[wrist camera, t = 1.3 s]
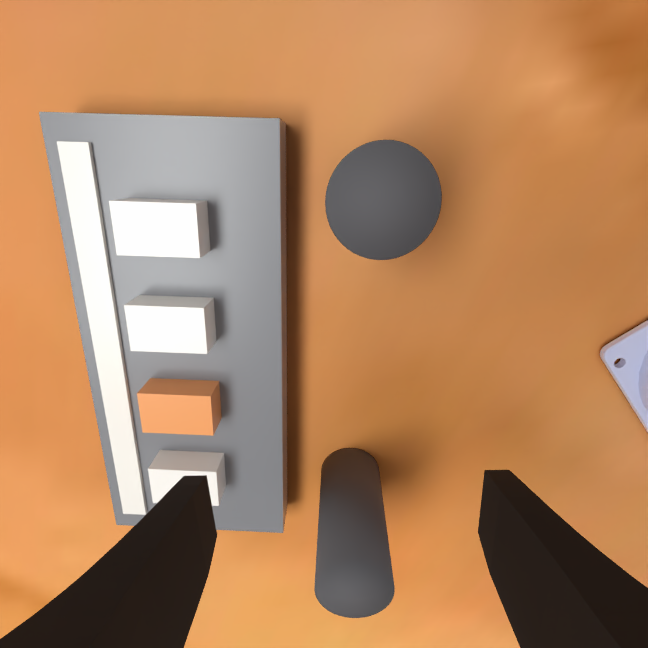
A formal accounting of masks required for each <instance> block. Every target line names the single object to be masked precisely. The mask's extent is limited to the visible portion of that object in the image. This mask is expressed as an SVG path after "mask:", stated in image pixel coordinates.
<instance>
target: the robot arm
mask: <svg viewBox="0 0 648 648" xmlns="http://www.w3.org/2000/svg"><path fill="white" fill-rule="evenodd" d="M600 357H601V359H602V361H603V362H604V364H605V366H606V367H607V369H608V370H609V372H610V373H611V375H612V377H613V378H614V380H615V381H616V383H617V385H618V386H619V388H620V389H621V391H622V393H623V394H624V396H625V397H626V399H627V400H628V402H629V404H630V405H631V407H632V408H633V410H634V412H635V413H636V415H637V416H638V418H639V420H640V421H641V423H642V424H643V426H644V427H645V429H646V431H647V432H648V320H647V321H645V322H643V323H642V324H640V325H638V326H637V327H635V328H633V329H632V330H630V331H628V332H627V333H625V334H623V335H622V336H620V337H618V338H617V339H615V340H613V341H611V342H610V343H608V344H606V345H605V346H604V347H603V348H602V349H601V351H600ZM619 358H620V361H619V362H618V363H617V364H614V362H615V361H616V360H617V359H619ZM478 534H479V537H480V541H481V544H482V548H483V552H484V555H485V558H486V562H487V565H488V568H489V572H490V575H491V577H492V580H493V582H494V585H495V587H496V590H497V592H498V595H499V597H500V599H501V602H502V604H503V607H504V609H505V612H506V614H507V616H508V619H509V621H510V624H511V626H512V629H513V631H514V633H515V636H516V638H517V641H518V643H519V645H520V648H648V588H647V587H645V586H644V585H643V584H641V583H640V582H639V581H637V580H636V579H635V578H633V577H632V576H631V575H629V574H628V573H627V572H626V571H624V570H623V569H622V568H621V567H619V566H618V565H617V564H616V563H614V562H613V561H612V560H611V559H609V558H608V557H607V556H606V555H604V554H603V553H602V552H601V551H599V550H598V549H597V548H596V547H595V546H593V545H592V544H591V543H590V542H589V541H587V540H586V539H585V538H584V537H583V536H581V535H580V534H579V533H578V532H577V531H576V530H574V529H573V528H572V527H571V526H570V525H569V524H568V523H566V522H565V521H564V520H563V519H562V518H561V517H560V516H559V515H558V514H556V513H555V512H554V511H553V510H552V509H551V508H550V507H549V506H548V505H547V504H545V503H544V502H543V501H542V500H541V499H540V498H539V497H538V496H537V495H536V494H535V493H534V492H532V491H531V490H530V489H529V488H528V487H527V486H526V485H525V484H524V483H523V482H522V481H521V480H520V479H518V478H517V477H516V476H515V475H514V474H513V473H512V472H511V471H510V470H485V472H484V481H483V491H482V500H481V509H480V518H479V527H478ZM216 538H217V532H216V526H215V520H214V515H213V509H212V503H211V497H210V492H209V486H208V480H207V475H198V476H183V477H182V478H181V479H180V480H179V481H178V482H177V483H176V484H175V485H174V486H173V487H172V488H171V489H170V490H169V491H168V492H167V493H166V494H165V495H164V497H163V498H162V499H161V500H160V501H159V502H158V503H157V504H156V505H155V506H154V507H153V508H152V509H151V510H150V511H149V512H148V513H147V514H146V515H145V516H144V517H143V518H142V519H141V520H140V521H139V522H138V523H137V524H136V525H135V526H134V527H133V528H132V529H131V530H130V531H129V532H128V533H127V534H126V535H125V536H124V537H123V538H122V539H121V540H120V541H119V542H118V543H117V544H116V545H115V546H114V547H113V548H112V549H110V550H109V551H108V552H107V553H106V554H105V555H104V556H103V557H102V558H101V559H100V560H99V561H97V562H96V563H95V564H94V565H93V566H92V567H91V568H90V569H89V570H88V571H87V572H85V573H84V574H83V575H82V576H81V577H80V578H79V579H77V580H76V581H75V582H74V583H73V584H71V585H70V586H69V587H68V588H67V589H65V590H64V591H63V592H62V593H61V594H59V595H58V596H57V597H56V598H54V599H53V600H52V601H51V602H49V603H48V604H47V605H46V606H44V607H43V608H42V609H41V610H39V611H38V612H37V613H35V614H34V615H33V616H32V617H30V618H29V619H27V620H26V621H25V622H23V623H22V624H21V625H19V626H18V627H16V628H15V629H14V630H12V631H11V632H10V633H8V634H7V635H5V636H4V637H3V638H1V639H0V648H184V645H185V642H186V639H187V636H188V633H189V630H190V627H191V624H192V622H193V619H194V616H195V613H196V610H197V607H198V604H199V601H200V598H201V595H202V592H203V589H204V586H205V583H206V580H207V577H208V574H209V569H210V565H211V561H212V557H213V552H214V547H215V542H216Z"/></svg>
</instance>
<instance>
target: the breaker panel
mask: <svg viewBox="0 0 648 648" xmlns="http://www.w3.org/2000/svg"><path fill="white" fill-rule="evenodd" d="M39 115H40V121H41V126H42V131H43V137H44V142H45V147H46V152H47V158H48V163H49V168H50V174H51V179H52V184H53V190H54V195H55V200H56V206H57V211H58V216H59V222H60V227H61V232H62V237H63V243H64V248H65V253H66V259H67V264H68V269H69V275H70V280H71V285H72V291H73V296H74V301H75V307H76V312H77V317H78V323H79V328H80V333H81V338H82V344H83V349H84V354H85V360H86V365H87V370H88V376H89V381H90V386H91V392H92V397H93V402H94V408H95V413H96V418H97V423H98V429H99V434H100V439H101V445H102V450H103V455H104V461H105V466H106V471H107V477H108V482H109V487H110V493H111V498H112V503H113V509H114V514H115V519H116V524H117V525H131V526H135V525H136V524H137V523H138V522H139V521H140V520H141V519H142V518H143V517H144V516H145V515H146V514H147V513H148V512H149V511H150V510H151V509H152V508H153V507H154V506H155V505H156V504H157V503H158V502H159V501H160V500H161V499H162V498H163V497H164V495H165V494H166V493H167V492H168V491H169V490H170V489H171V488H172V487H173V486H174V485H175V484H176V483H177V482H178V481H179V480H180V479H181V478H182V477H183V476H198V475H207V480H208V486H209V492H210V497H211V503H212V509H213V515H214V520H215V526H216V530H235V531H256V532H277V533H283V531H284V524H285V517H286V511H287V253H286V123H285V122H284V121H282V120H281V119H280V118H246V117H209V116H172V115H135V114H98V113H61V112H39Z"/></svg>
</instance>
